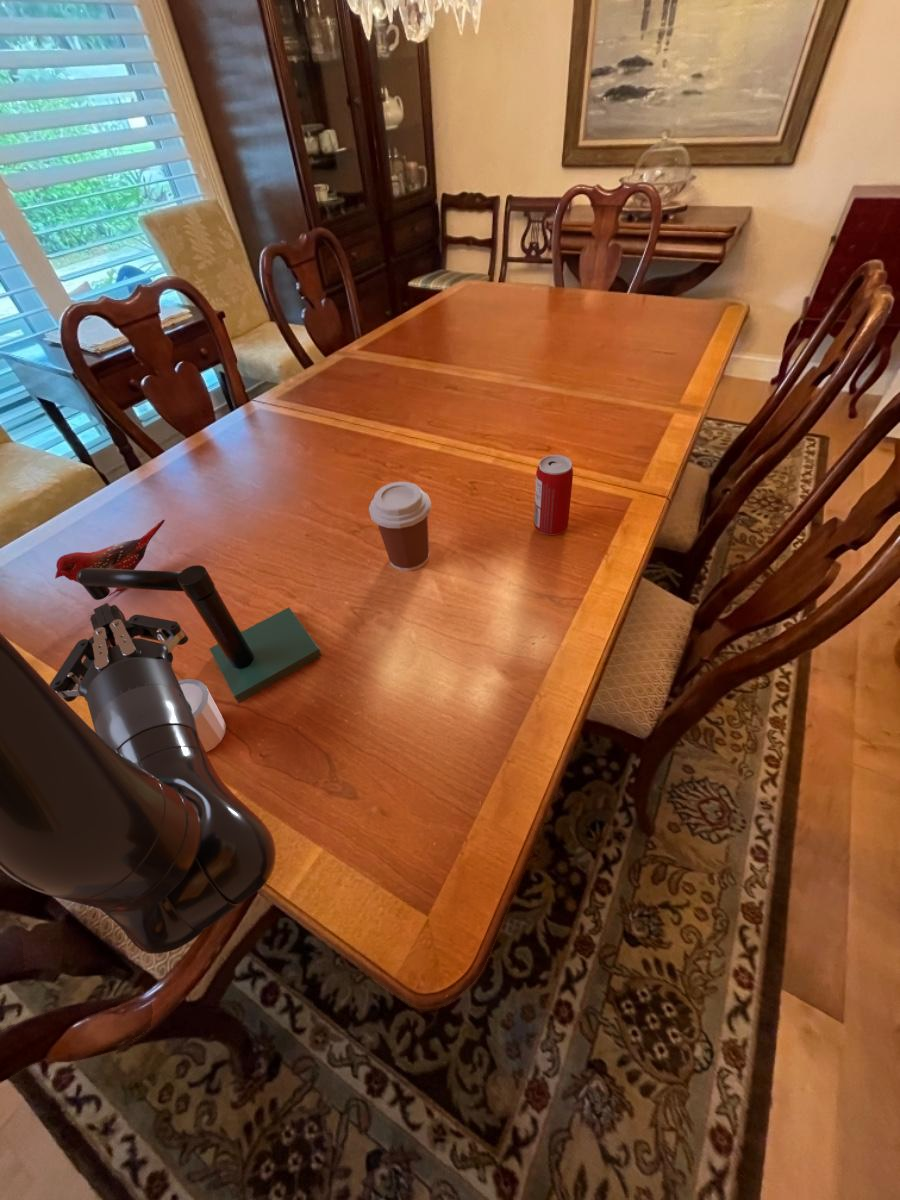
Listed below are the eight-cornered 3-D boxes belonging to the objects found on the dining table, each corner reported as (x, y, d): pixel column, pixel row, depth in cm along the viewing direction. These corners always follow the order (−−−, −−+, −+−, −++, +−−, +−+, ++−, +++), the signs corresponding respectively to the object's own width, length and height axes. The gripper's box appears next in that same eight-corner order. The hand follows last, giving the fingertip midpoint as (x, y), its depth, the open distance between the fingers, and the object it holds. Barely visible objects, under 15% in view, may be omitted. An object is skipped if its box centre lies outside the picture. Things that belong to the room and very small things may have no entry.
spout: (85, 603, 64) (65, 578, 61) (101, 584, 66) (82, 560, 63) (213, 610, 62) (198, 585, 59) (225, 590, 64) (211, 565, 61)
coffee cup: (426, 581, 81) (416, 518, 72) (371, 571, 83) (355, 509, 75) (445, 543, 87) (438, 480, 78) (394, 535, 89) (381, 473, 81)
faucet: (238, 703, 68) (189, 629, 58) (213, 654, 74) (164, 580, 64) (322, 655, 73) (290, 579, 62) (292, 613, 79) (258, 537, 68)
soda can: (574, 528, 87) (582, 464, 78) (547, 541, 85) (551, 477, 76) (554, 511, 90) (559, 448, 81) (527, 523, 89) (529, 459, 80)
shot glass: (162, 749, 65) (132, 719, 60) (199, 703, 69) (175, 671, 64) (206, 767, 62) (179, 737, 57) (242, 718, 67) (220, 687, 62)
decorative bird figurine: (81, 611, 83) (40, 563, 75) (176, 545, 92) (148, 497, 85) (91, 618, 81) (50, 570, 74) (186, 550, 91) (158, 502, 84)
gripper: (197, 656, 48) (148, 559, 59) (39, 739, 44) (16, 617, 54) (228, 702, 54) (179, 605, 64) (91, 779, 49) (61, 662, 59)
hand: (104, 611), depth 59 cm, fingers closed
